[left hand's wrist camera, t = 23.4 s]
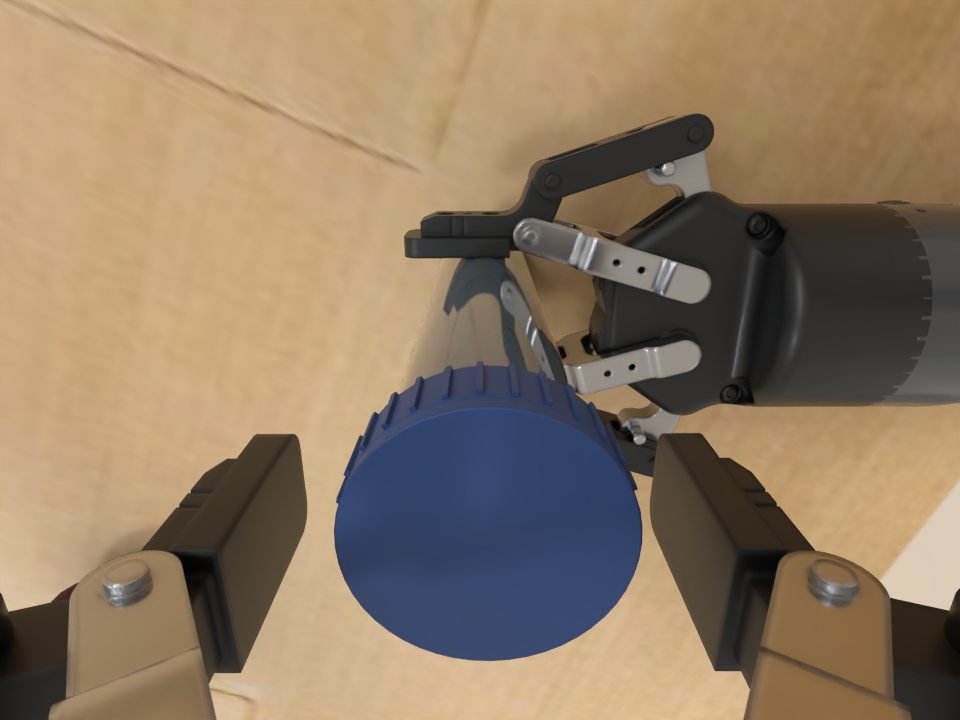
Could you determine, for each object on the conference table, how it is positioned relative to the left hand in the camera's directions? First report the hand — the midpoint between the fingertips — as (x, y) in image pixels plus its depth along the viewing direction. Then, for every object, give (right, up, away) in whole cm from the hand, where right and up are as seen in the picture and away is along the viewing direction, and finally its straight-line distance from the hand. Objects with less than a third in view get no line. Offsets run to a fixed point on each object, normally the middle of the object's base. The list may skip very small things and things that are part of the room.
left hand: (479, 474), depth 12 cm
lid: (0, 0, -2) cm, 2 cm away
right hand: (-3, +4, +10) cm, 11 cm away
